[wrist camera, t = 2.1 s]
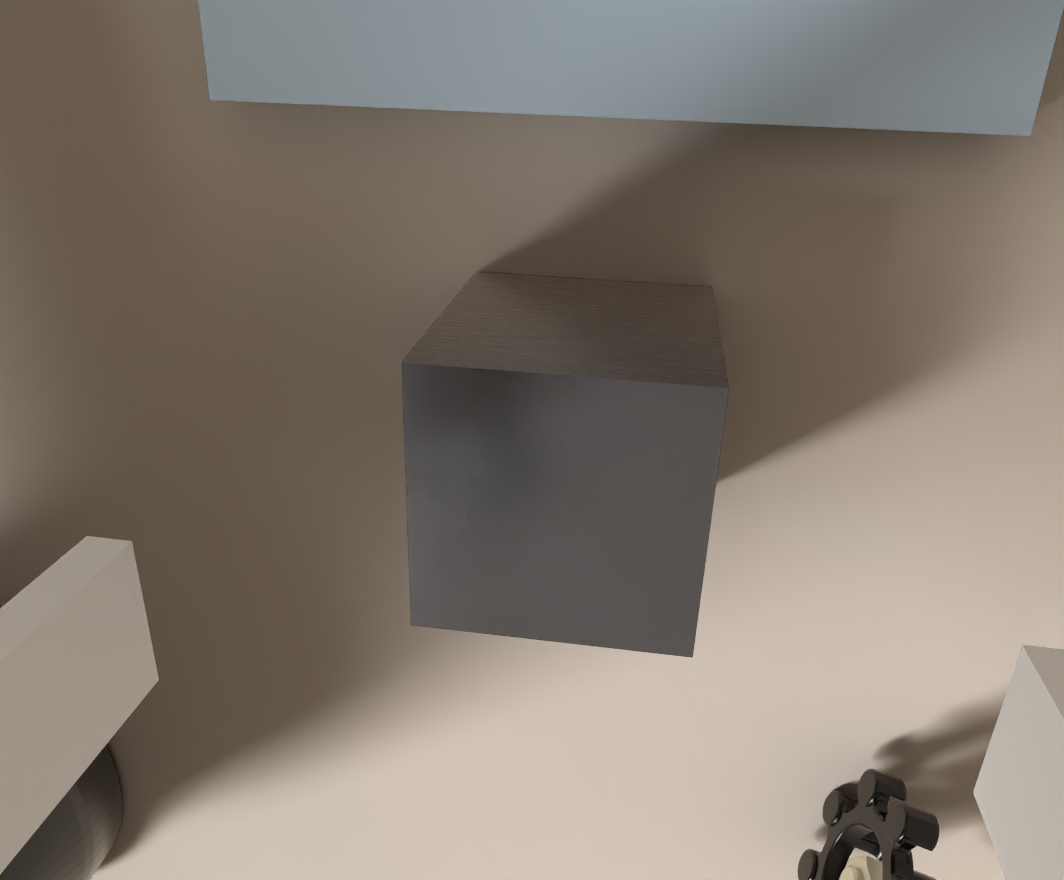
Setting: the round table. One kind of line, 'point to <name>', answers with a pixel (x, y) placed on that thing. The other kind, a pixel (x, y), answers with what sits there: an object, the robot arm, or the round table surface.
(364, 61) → the board
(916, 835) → the valve
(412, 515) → the brushed metal cube
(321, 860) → the round table surface
